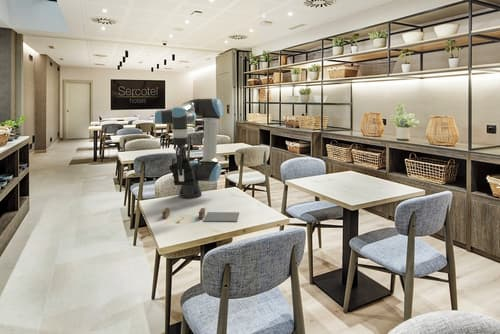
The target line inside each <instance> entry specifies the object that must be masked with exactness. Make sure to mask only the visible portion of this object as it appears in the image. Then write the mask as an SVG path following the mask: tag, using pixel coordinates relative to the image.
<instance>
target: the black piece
mask: <svg viewBox="0 0 500 334" xmlns="http://www.w3.org/2000/svg"><path fill="white" fill-rule="evenodd" d="M190 161H191V160H190V158H189V157H187V156H186V158H185V159H183V169H184V181H179V173H178V170H177V161H176V162H175V163H171V165H169V166H168V167H169V168H168V170H170V171H171V173H172V177H173V183H174V186H181V185H188V186H194V185H195V180H196V178H195V177H194V172H193V167H192V166H191V163H190Z"/></svg>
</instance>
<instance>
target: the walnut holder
mask: <svg viewBox="0 0 500 334" xmlns="http://www.w3.org/2000/svg"><path fill="white" fill-rule="evenodd" d="M170 211H171V210H170V207H165V208H164V209H163V210H162V212H161V213H162V220H167V219H168V217H169V216H170V214H171V213H170ZM205 216H206V208H204V207H202V208H200V209H199V211H198V219H199V220H204V218H205Z"/></svg>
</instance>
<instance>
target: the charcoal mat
mask: <svg viewBox="0 0 500 334" xmlns="http://www.w3.org/2000/svg"><path fill="white" fill-rule="evenodd" d="M239 217H240V212H238V211H237V212H235V211H233V212H232V211H231V212H230V211H228V212H227V211H224V212H223V211H207V213H206V214H205V216H204V218H203V219H202V220H203V221H202V222H205V223H207V222H208V223H212V222H215V223H216V222H217V223H218V222H219V223H221V222H222V223H237V222H238V220H239Z"/></svg>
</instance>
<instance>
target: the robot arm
mask: <svg viewBox="0 0 500 334" xmlns="http://www.w3.org/2000/svg"><path fill="white" fill-rule="evenodd" d="M223 115H224V107H223V104H222V101H221V100H220V99H219V98H195V99H191V100H188V101H185V102H183V103H182V104H180V105H178V106H175V107H173V108H168V109H165V110H163V109H161V110H156V112H155V113H154V121H155V123H156V124H159V125H172V131H171V132H172V134H173V136H172V137H173V141H172V142H173V145H175V146H177V147H176V150H175V156H176V157H175V159H176V162H177V170H178V173H179V181H184V169H183V159H185V158H187V147H186V146H187V145H188V144H189V138H188V136H189V133H188V132H189V131H188V125H192V124H194V123H195V122H196V120H197V118H198V117H201V119H202V121H203V122H204V123H203V146H202V152H203V153H202V159H200V163H199V161H198V160H189V161H190V163H191V166H192V167H193V172H194V177H195V178H196V180H195V185H194V186H188V185H180V188H179V192H178V197H179V198H182V199H196V198H200V197H201V196H202V195H203V191H202V189H201V186H200V183H199V182H210V183H211V182H218V180H220V176H221V175H222V174H221V173H222V165H221V164H220V163H219V160H218V159H217V145H218V144H217V142H218V141H217V137H218V122H219V121H220V119H221V118H222V117H223Z"/></svg>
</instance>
